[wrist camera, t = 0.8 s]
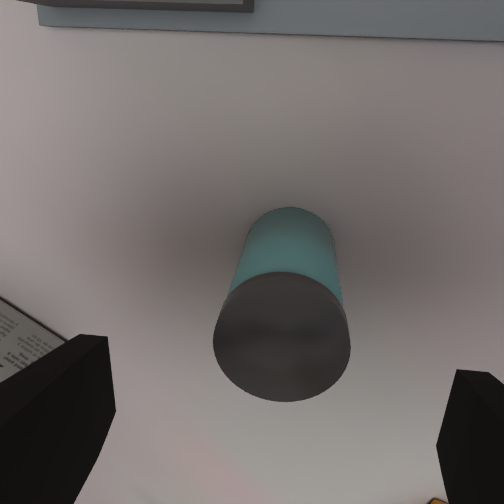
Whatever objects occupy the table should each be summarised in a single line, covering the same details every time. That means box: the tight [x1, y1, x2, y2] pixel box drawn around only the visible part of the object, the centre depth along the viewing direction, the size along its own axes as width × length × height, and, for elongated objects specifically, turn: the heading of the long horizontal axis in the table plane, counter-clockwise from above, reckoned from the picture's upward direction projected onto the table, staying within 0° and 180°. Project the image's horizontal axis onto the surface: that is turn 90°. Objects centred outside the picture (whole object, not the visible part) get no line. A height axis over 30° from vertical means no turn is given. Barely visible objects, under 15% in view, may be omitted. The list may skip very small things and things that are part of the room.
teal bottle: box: [213, 207, 351, 402], centre depth 14 cm, size 3×3×6 cm
